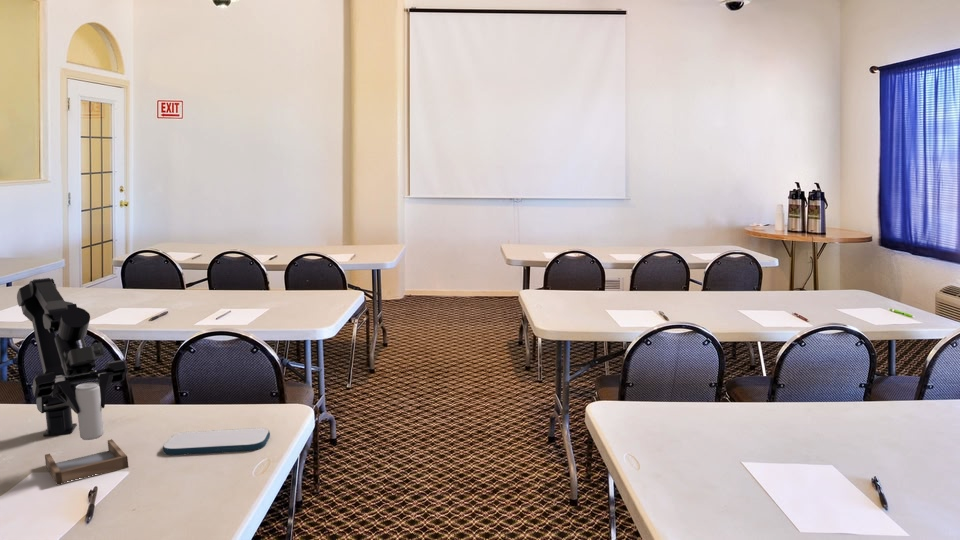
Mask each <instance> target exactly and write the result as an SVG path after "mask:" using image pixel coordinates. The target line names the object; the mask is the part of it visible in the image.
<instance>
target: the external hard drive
mask: <svg viewBox="0 0 960 540" xmlns="http://www.w3.org/2000/svg"><path fill="white" fill-rule="evenodd" d="M270 437H271V432H270V430H269V429H268V428H264V427H262V428H261V427H257V428H256V427H255V428H254V427H253V428H252V427H251V428H235V429H217V430H213V429H211V430H197V431H193V430H192V431H184V432H179V433H175V434H173V435H171V436H170V437H169V438H168V439H167V441H166V442H164V444H163V446H162V451H163V453H164V454H165V455H168V456H181V455H182V456H183V455H184V454H186V455H199V454H200V455H201V454H217V453H221V454H222V453H235V452H237V453H238V452H251V451H258V450H260V449H263V448H264V447H265V446H266V445H267V443H268V442H269V439H270Z"/></svg>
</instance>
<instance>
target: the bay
mask: <svg viewBox="0 0 960 540" xmlns="http://www.w3.org/2000/svg"><path fill="white" fill-rule="evenodd" d="M107 448H108V450H106V451H102V452H97V453H94V454H89V455H85V456H84V455H83V456H80V457H76V458H72V459H67V460H64V461H63V460H62V461H59V462H55V460H54V458H53V456H52V455H51V453H45V454H44V459H45V462H44V463H45V466H46V468H47V470H48V472H49V473H50V475H51V476H53V477H52V478H54V479H53V480H54V482H55V483H57V484H60V485H62V484H61V483H64V482H67V481H71V480H75V479H79V478H83V479H85V478H84V477H87V478H89V477H88V476H91V477H93V476H92V475H95V474H99V475H102V474H101V473H103V474H106V473H111V472H114V471H119V470H122V469H126V468H129V459H128V455H127V454H126V453H125V452H124V451H123V450H122V448H120V447H119V445H118V444H117V443H116V442H115V441H114V440H113V439H108V440H107ZM95 476H96V475H95ZM79 480H80V479H79ZM75 481H76V480H75ZM57 484H56V485H57ZM64 484H65V483H64Z"/></svg>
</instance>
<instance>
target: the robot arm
mask: <svg viewBox="0 0 960 540" xmlns="http://www.w3.org/2000/svg"><path fill="white" fill-rule="evenodd" d="M16 300H17V302H16V303H17V305H18V307H20V309H21V311H22V315H24V317H25V318H27V319H28V320H29V321H30V322H31V323H32V327H33V332H34V337H35V340H36V345H37V350H38V354H39V358H40V364H41V368H42V372H43V373H40V374H35V375H34V377H33V381H32V382H33V383H32V386H31V389H32V394H33V397H34V398H35V399H36V401H35V403H36V404H35V405H36V408H37V410H38V412H40V414H45V418H46V419H45V421H46V430H45V431H44V433H43V434H42V435H43V437H47V436H55V435H65V434H71V433H73V432H74V430H75V429H76V427H77V425H78V423H76V422H75V423H73V415H72V411H74V413H75V414H77V415H78V414H79V408H78V404H77V402H76V393H75V390H76V386H77V385H78V383H85V382H88V381H94V380H96V383H98V384H99V385H98V386H99V387H100V396H101V407H102V409H105V406H106V396H107V395H106V393H107V388H109V387H111V385H112V384H115V383H116V384H117V383H120V382H121V383H122V382H124V381H125V379H126V376H127V373H128V370H129V367H128V365H127V362H126V361H125V360H123V359H119V360H114V361H108V362H106V364H105V367H104V368H102V369H97V370H96V369H95V370H94V368H96V362H95V361H97V358H98V359H100V358H103V356H105V349H104V346H103V343H102V342H101V341H100V342H93V343H92V344H91V345H90V346H87V345H86V342H85V339H84V338H85V337H87V333H88V329H89V325H90V320H91V315H90V313H89V312H88V311H87V310H86V309H84V308H82V307H79V306H77V303H73V302H70V301H66V300H65V299H64V298H63V296H62V295H61V294H60V292H59V290H58V289H57V285H56V283H55V280H54V278H50V277H47V278H46V277H45V278H44V277H43V278H37V279H36V278H35V279H32V280H30V281H29V283H27V284H26V285H25V284H24V285H23V286H21V287H20V288H19V289H18V291H17V293H16Z"/></svg>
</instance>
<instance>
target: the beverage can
mask: <svg viewBox="0 0 960 540" xmlns="http://www.w3.org/2000/svg"><path fill="white" fill-rule="evenodd" d="M98 385H99V384H98V382H82V383H80V384H77V386H76V390H75V393H76V402H77V404H78V408H79V414H77V419H78V427H79V428H78V430H79V438H81V439H82V440H84V441H90V440H91V441H92V440H97V439H100V438H102V436H103V435H104V431H105V430H104V420H103V411H102V410H103V408H102V407H101V396H100V387H99V386H98Z"/></svg>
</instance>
